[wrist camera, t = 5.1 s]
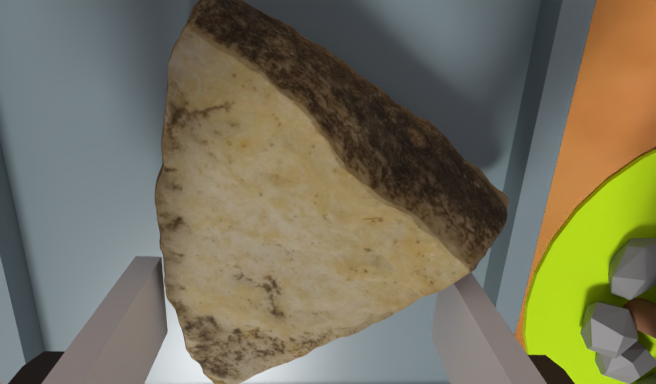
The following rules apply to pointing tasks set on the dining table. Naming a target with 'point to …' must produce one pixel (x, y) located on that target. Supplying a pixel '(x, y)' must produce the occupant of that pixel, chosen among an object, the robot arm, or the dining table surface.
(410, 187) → the rock
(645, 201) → the toy cauldron
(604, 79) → the dining table surface
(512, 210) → the tray
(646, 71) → the dining table surface
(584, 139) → the dining table surface
